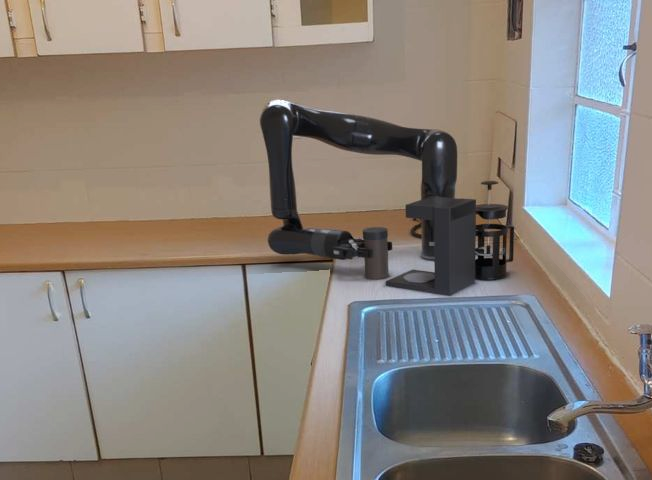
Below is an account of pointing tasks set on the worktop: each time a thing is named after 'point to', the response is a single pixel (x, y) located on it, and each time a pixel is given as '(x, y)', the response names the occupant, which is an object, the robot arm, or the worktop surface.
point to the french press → (494, 265)
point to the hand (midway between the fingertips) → (381, 250)
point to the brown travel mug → (376, 252)
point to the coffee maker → (444, 246)
